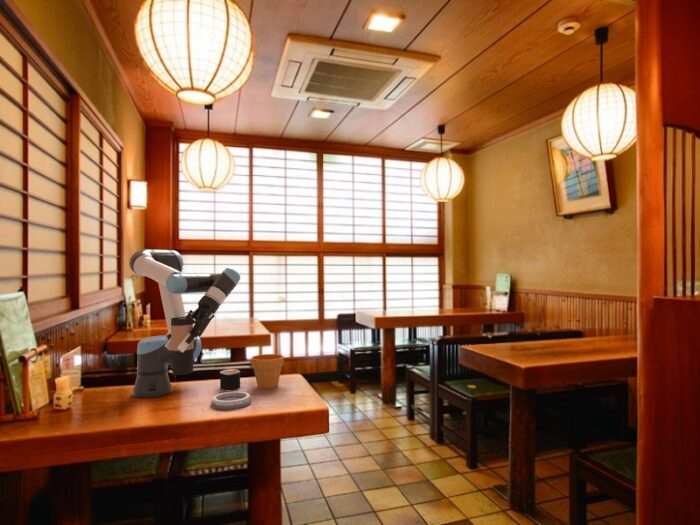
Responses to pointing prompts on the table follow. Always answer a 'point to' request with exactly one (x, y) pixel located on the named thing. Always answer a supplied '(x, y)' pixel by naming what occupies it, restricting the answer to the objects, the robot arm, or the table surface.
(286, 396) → the table surface
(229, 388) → the sushi
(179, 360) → the travel mug
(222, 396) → the gray ring
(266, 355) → the flower pot
